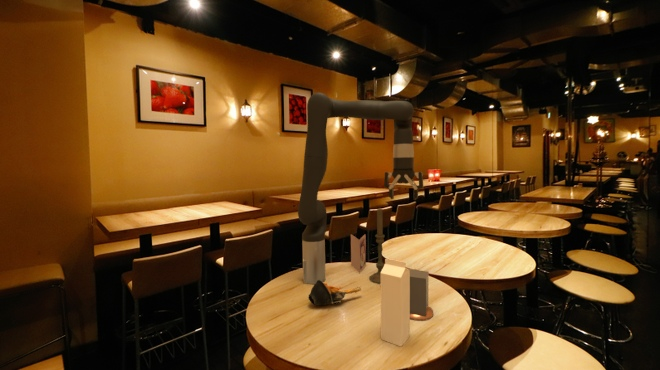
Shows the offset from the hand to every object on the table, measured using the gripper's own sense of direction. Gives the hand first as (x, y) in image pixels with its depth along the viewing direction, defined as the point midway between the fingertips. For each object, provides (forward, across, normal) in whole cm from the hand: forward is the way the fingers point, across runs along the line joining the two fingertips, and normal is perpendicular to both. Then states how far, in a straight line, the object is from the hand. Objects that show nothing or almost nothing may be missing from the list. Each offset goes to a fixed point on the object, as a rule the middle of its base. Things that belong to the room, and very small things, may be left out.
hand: (403, 199), depth 114 cm
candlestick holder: (+34, -10, +3) cm, 36 cm away
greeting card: (+34, -23, +12) cm, 43 cm away
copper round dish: (+34, +8, -19) cm, 40 cm away
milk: (+34, +4, -35) cm, 49 cm away
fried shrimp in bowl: (+34, -20, -22) cm, 45 cm away
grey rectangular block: (+33, +8, -19) cm, 39 cm away
